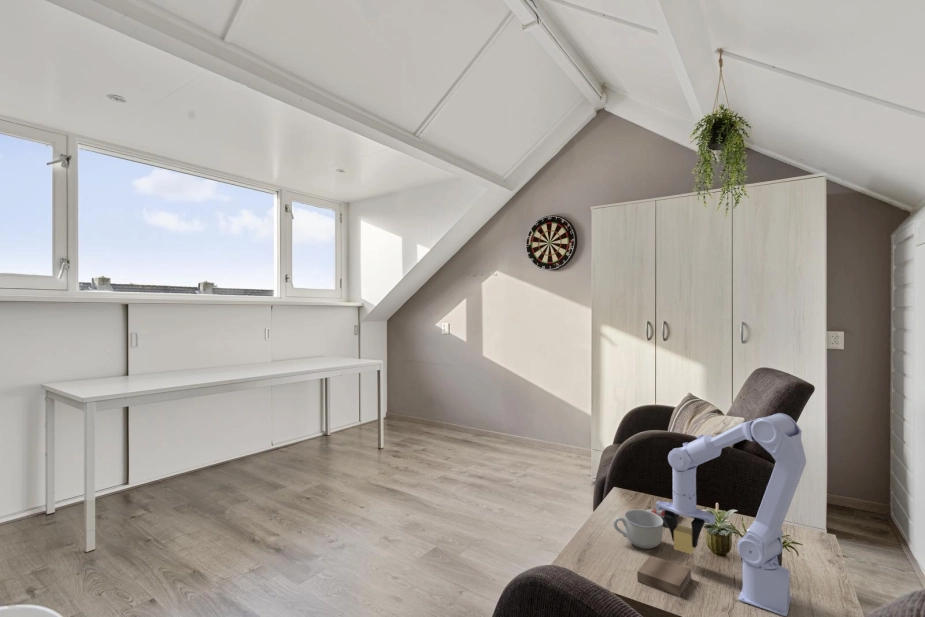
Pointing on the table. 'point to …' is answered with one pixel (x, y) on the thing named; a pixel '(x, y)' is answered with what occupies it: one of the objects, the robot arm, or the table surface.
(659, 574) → the walnut plinth
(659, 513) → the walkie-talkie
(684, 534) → the mustard block
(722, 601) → the table surface
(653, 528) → the teacup
